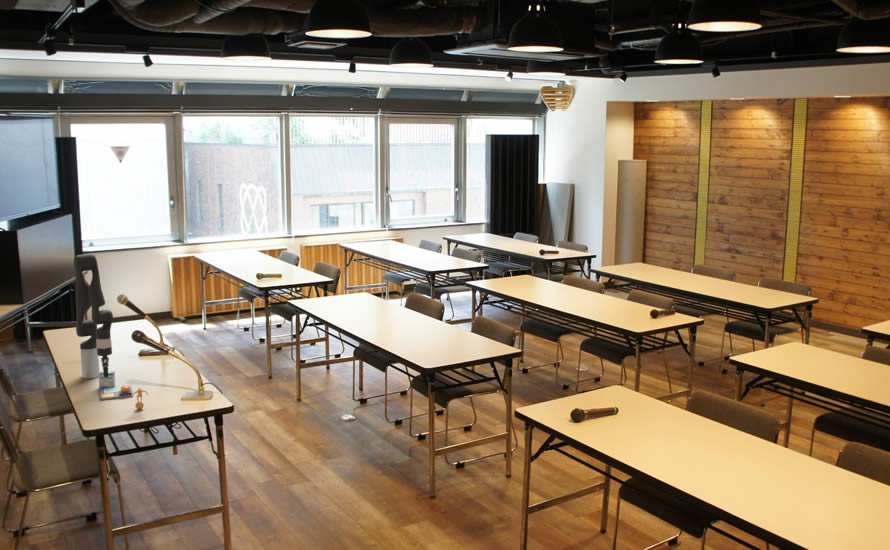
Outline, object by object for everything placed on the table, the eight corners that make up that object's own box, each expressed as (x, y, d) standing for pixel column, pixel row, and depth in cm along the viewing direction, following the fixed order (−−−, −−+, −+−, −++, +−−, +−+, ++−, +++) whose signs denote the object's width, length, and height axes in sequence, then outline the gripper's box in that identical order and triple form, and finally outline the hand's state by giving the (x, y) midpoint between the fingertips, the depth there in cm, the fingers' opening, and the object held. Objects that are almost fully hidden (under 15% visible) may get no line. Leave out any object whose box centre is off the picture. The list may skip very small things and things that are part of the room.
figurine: (147, 406, 401) (146, 384, 399) (150, 410, 396) (148, 387, 394) (130, 409, 396) (129, 386, 394) (132, 413, 391) (131, 390, 389)
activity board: (99, 390, 424) (99, 387, 424) (131, 387, 431) (131, 384, 430) (100, 400, 409) (100, 396, 409) (133, 396, 416) (132, 393, 415)
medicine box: (99, 389, 427) (98, 374, 426) (100, 386, 431) (99, 371, 430) (114, 388, 429) (113, 373, 428) (115, 385, 433) (114, 370, 432)
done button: (120, 389, 418) (120, 386, 418) (129, 388, 420) (129, 385, 420) (121, 391, 414) (121, 388, 414) (130, 390, 416) (129, 387, 416)
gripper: (96, 344, 431) (98, 372, 433) (96, 349, 418) (98, 379, 420) (111, 342, 434) (113, 370, 436) (111, 348, 421) (113, 377, 423)
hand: (106, 374), depth 428 cm, fingers open, 8 cm apart
